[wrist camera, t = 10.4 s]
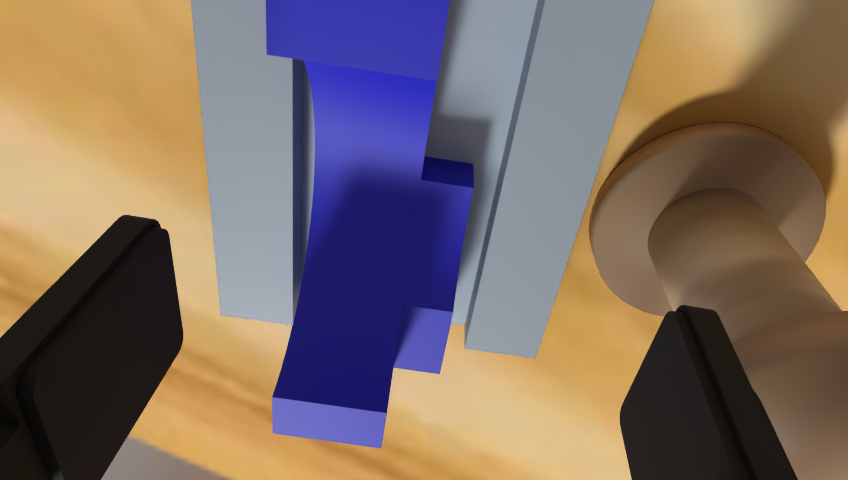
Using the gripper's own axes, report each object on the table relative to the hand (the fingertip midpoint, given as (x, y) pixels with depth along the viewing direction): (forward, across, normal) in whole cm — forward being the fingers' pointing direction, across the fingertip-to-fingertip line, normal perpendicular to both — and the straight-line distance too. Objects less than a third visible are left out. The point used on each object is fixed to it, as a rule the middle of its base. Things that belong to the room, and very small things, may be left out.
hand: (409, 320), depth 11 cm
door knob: (+9, -9, +2) cm, 13 cm away
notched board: (+9, +1, 0) cm, 9 cm away
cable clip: (+8, +1, 0) cm, 8 cm away
